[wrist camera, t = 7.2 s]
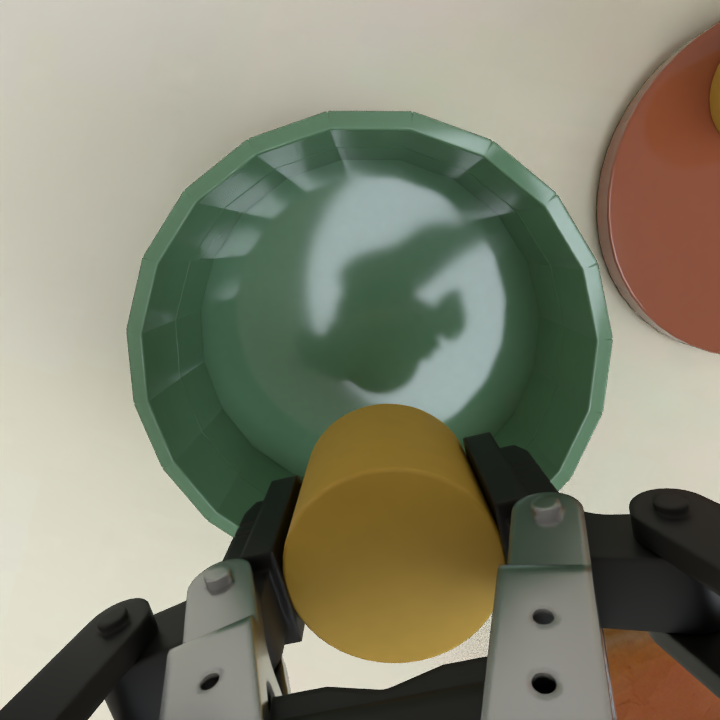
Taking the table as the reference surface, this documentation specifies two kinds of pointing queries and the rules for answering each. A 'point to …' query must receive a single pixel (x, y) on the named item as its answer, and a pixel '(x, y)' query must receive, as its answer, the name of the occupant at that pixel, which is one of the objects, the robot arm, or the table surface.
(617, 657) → the burger
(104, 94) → the table surface
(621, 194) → the plate
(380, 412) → the yellow short cylinder
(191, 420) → the green bowl
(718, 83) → the yellow cylinder
